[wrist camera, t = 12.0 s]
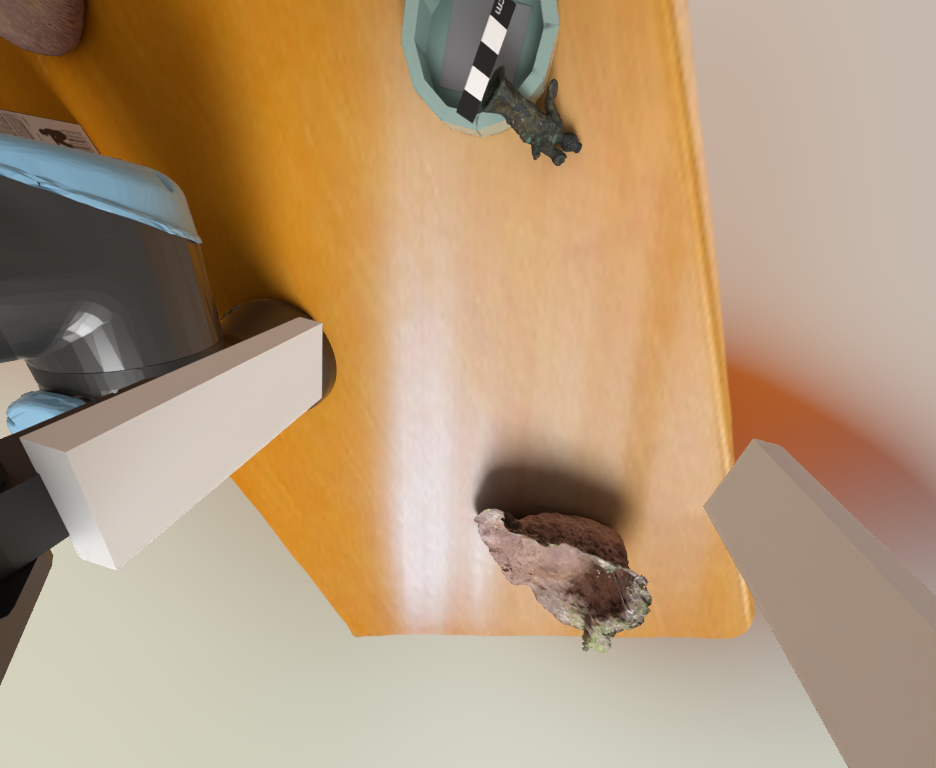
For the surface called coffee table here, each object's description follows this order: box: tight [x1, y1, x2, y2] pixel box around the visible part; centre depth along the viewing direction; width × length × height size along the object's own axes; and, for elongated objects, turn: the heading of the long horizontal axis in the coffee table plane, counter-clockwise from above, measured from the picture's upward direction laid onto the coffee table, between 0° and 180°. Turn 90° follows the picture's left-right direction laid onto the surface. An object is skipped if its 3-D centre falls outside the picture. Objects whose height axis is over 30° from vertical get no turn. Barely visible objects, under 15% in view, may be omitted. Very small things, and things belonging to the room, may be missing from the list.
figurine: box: [456, 0, 582, 166], centre depth 26 cm, size 6×4×12 cm
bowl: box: [401, 0, 559, 137], centre depth 27 cm, size 11×11×4 cm
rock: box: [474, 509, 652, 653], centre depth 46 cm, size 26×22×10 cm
